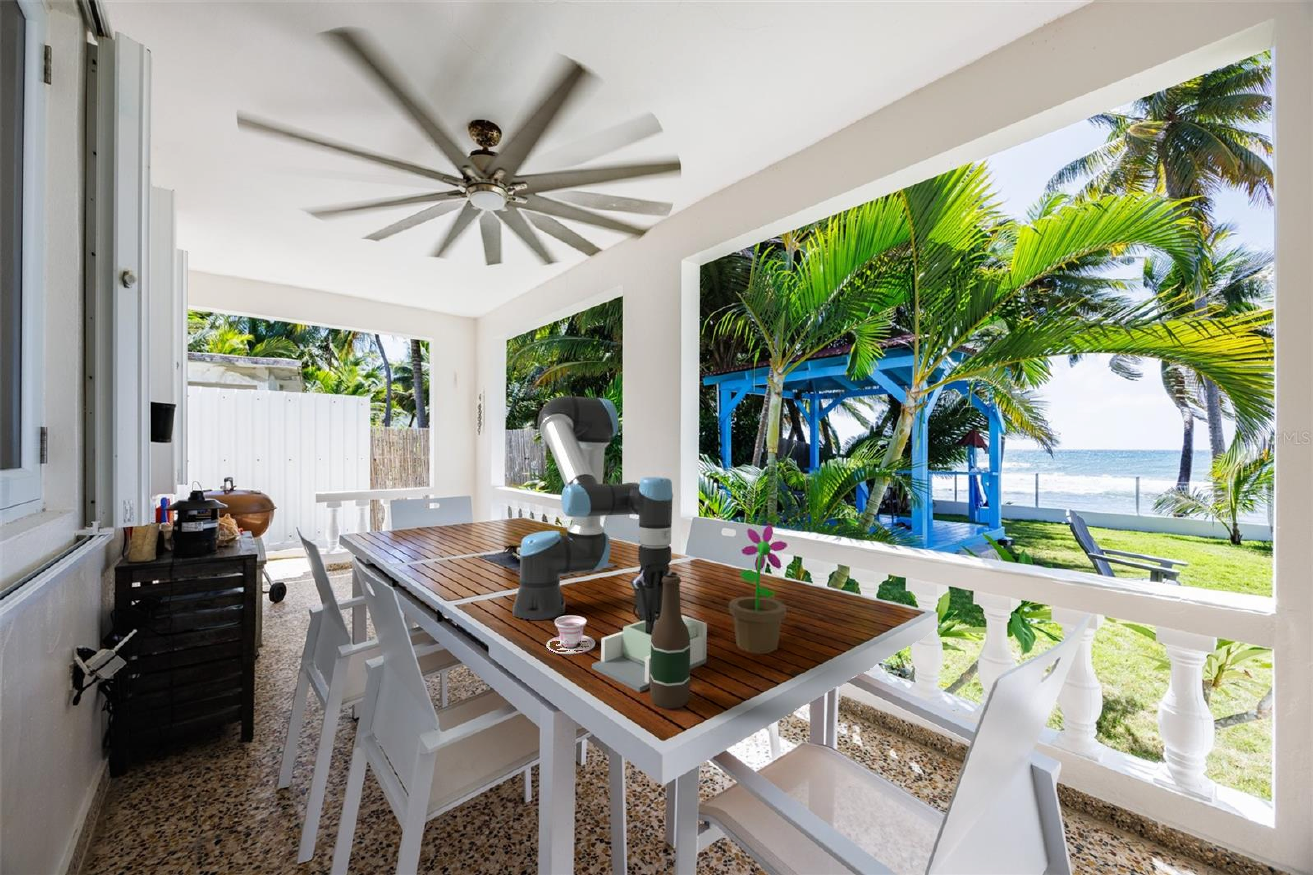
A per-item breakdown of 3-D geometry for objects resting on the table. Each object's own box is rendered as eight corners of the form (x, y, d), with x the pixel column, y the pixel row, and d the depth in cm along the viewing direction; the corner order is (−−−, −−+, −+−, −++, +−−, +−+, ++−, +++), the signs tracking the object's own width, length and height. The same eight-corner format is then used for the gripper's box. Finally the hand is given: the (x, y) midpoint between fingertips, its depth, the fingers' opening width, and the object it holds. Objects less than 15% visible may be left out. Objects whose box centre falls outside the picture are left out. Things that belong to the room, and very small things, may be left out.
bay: (591, 668, 112) (592, 627, 112) (658, 643, 127) (659, 607, 127) (639, 692, 101) (640, 647, 101) (706, 662, 116) (706, 623, 116)
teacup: (536, 645, 125) (537, 620, 125) (576, 633, 134) (576, 609, 134) (564, 659, 117) (565, 633, 117) (605, 646, 125) (605, 621, 125)
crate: (622, 655, 116) (623, 626, 116) (659, 642, 125) (659, 615, 125) (659, 672, 108) (660, 641, 108) (696, 656, 116) (696, 628, 116)
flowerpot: (794, 643, 129) (795, 525, 130) (774, 662, 117) (775, 532, 118) (742, 631, 137) (743, 520, 138) (718, 648, 125) (720, 526, 126)
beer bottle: (646, 708, 95) (648, 580, 96) (653, 689, 103) (655, 570, 103) (687, 712, 94) (689, 582, 95) (691, 692, 102) (693, 572, 102)
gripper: (646, 551, 108) (644, 662, 108) (686, 544, 118) (684, 646, 117) (622, 546, 113) (620, 652, 113) (662, 539, 123) (661, 637, 122)
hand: (653, 649), depth 115 cm, fingers closed
